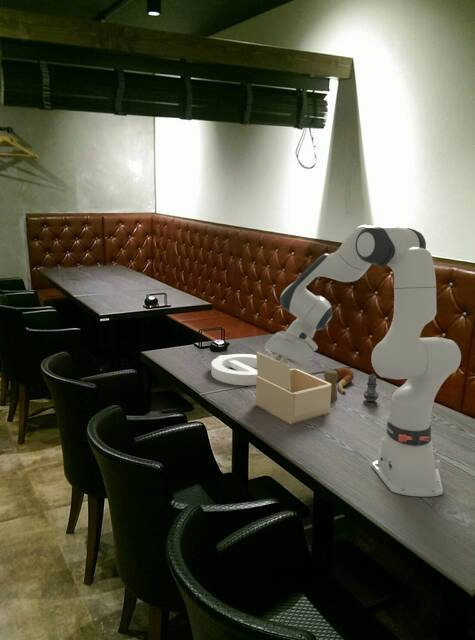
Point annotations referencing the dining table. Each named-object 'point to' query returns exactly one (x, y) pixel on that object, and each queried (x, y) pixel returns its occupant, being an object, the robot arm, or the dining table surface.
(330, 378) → the cork
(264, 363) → the carton flap
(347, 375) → the smoking pipe
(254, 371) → the ring with crossbar
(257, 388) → the carton
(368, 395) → the grey chess piece
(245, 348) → the dining table surface
